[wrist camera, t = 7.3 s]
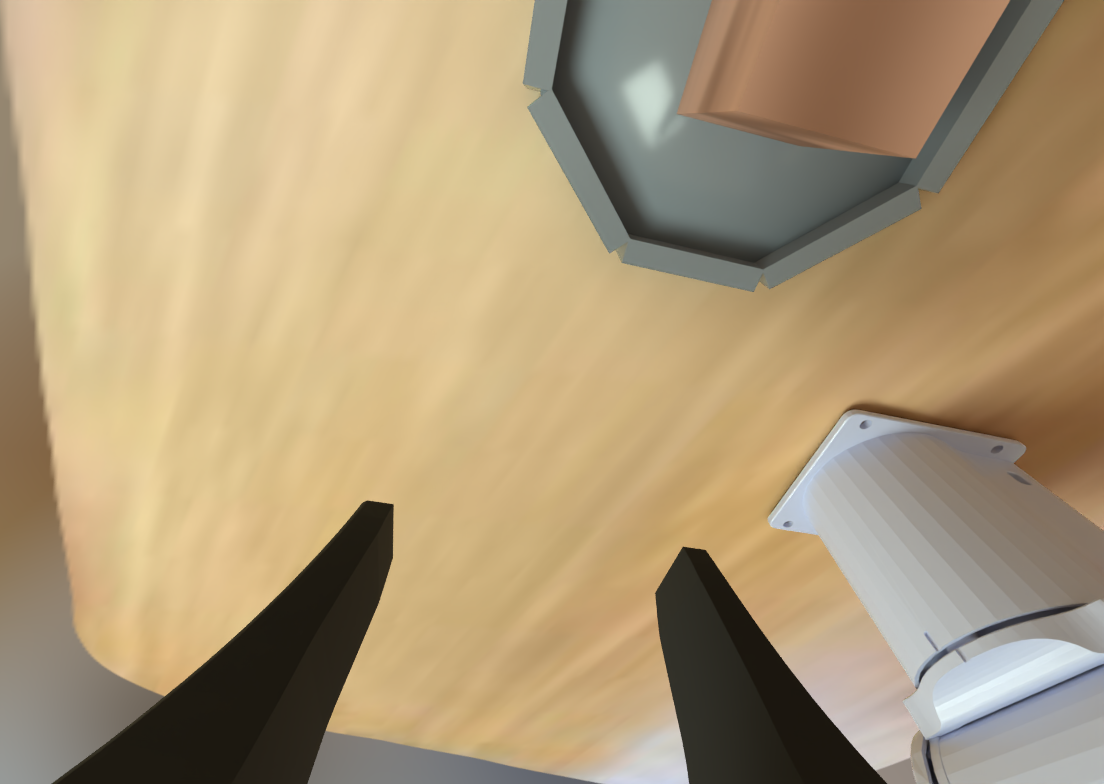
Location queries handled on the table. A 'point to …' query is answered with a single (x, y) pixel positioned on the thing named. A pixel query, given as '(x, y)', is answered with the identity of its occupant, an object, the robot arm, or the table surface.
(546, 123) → the dish
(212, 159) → the table surface
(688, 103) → the block
